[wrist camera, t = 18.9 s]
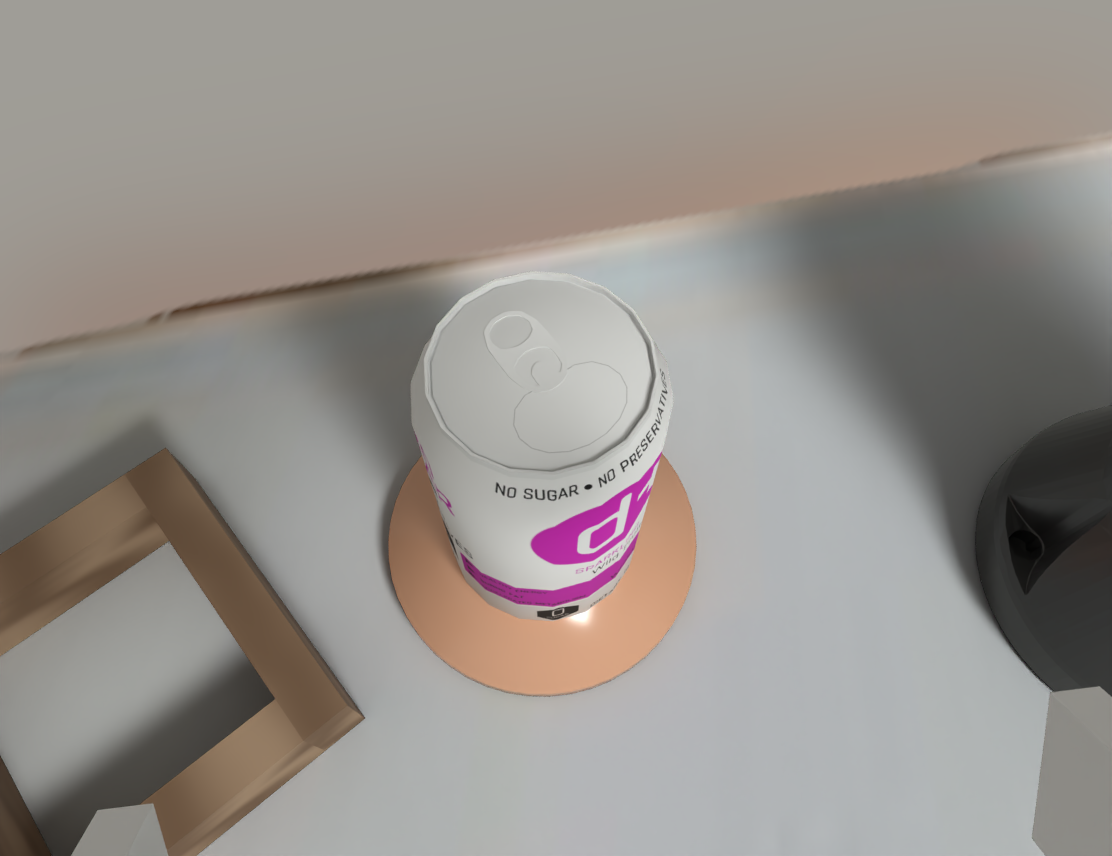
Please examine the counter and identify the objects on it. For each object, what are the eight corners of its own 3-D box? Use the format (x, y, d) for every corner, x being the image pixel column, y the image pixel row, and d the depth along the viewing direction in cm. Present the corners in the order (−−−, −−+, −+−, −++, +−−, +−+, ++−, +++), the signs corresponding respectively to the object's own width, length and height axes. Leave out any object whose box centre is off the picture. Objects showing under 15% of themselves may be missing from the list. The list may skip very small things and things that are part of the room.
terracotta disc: (560, 360, 44) (560, 349, 43) (755, 558, 39) (760, 551, 38) (333, 524, 40) (327, 516, 39) (521, 768, 35) (520, 766, 34)
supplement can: (670, 554, 38) (737, 393, 25) (520, 663, 36) (502, 551, 22) (564, 423, 41) (572, 216, 28) (419, 516, 39) (350, 340, 25)
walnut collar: (195, 478, 41) (165, 447, 37) (364, 718, 36) (347, 705, 33) (-102, 676, 36) (-164, 660, 33) (45, 978, 31) (-11, 992, 28)
